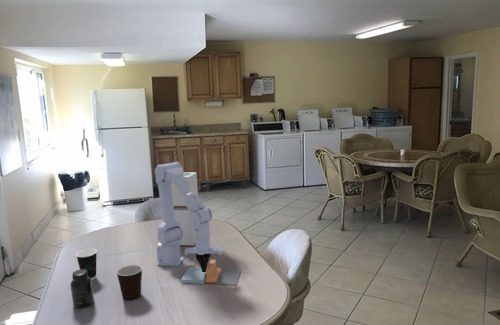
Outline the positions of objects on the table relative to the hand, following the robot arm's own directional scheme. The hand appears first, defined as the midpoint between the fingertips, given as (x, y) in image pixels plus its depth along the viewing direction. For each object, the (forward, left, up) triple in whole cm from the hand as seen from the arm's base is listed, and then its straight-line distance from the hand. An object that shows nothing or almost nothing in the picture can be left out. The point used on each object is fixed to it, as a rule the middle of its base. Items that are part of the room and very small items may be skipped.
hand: (204, 271), depth 151 cm
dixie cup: (-47, -4, -3) cm, 47 cm away
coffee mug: (-23, -15, -3) cm, 27 cm away
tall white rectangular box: (-18, +33, -3) cm, 38 cm away
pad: (+10, 0, -2) cm, 10 cm away
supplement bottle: (-38, -23, -3) cm, 44 cm away
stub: (+4, 0, -2) cm, 4 cm away
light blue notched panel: (-3, 0, -2) cm, 4 cm away
